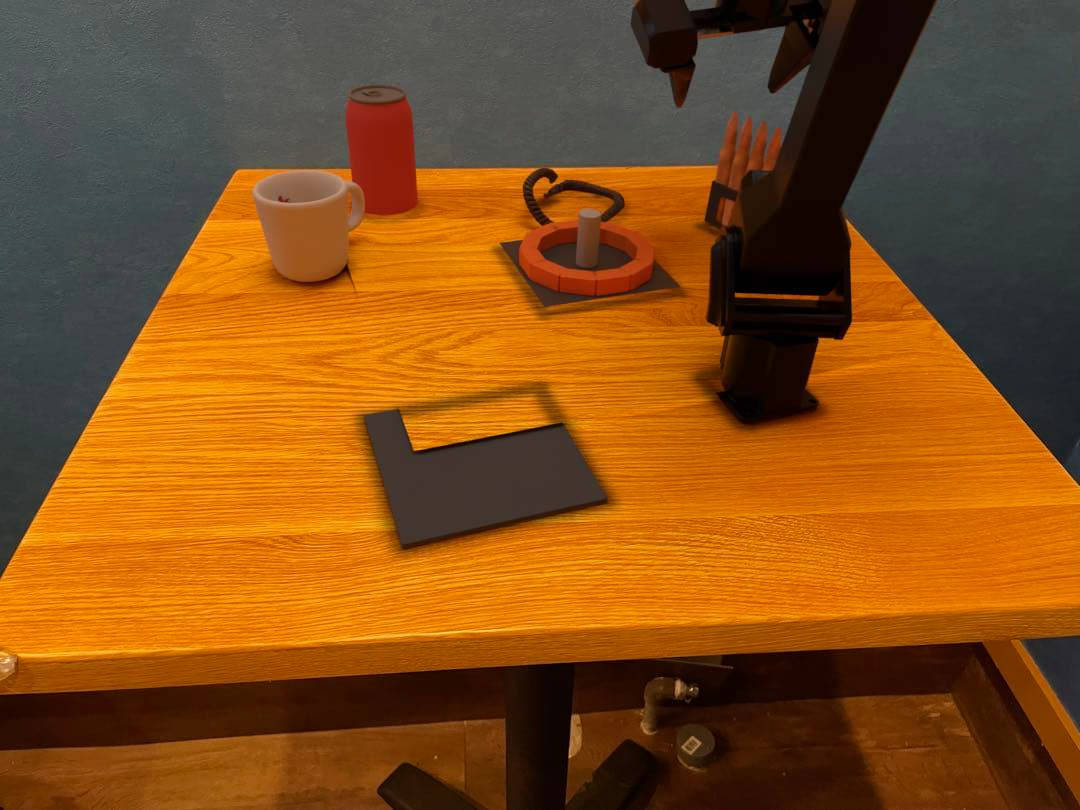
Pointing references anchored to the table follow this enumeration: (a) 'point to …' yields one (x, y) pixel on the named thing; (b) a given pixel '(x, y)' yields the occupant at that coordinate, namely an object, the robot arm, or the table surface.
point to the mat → (478, 479)
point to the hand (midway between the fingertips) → (724, 97)
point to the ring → (581, 279)
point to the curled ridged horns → (566, 185)
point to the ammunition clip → (739, 166)
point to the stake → (586, 262)
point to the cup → (308, 221)
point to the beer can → (382, 148)
